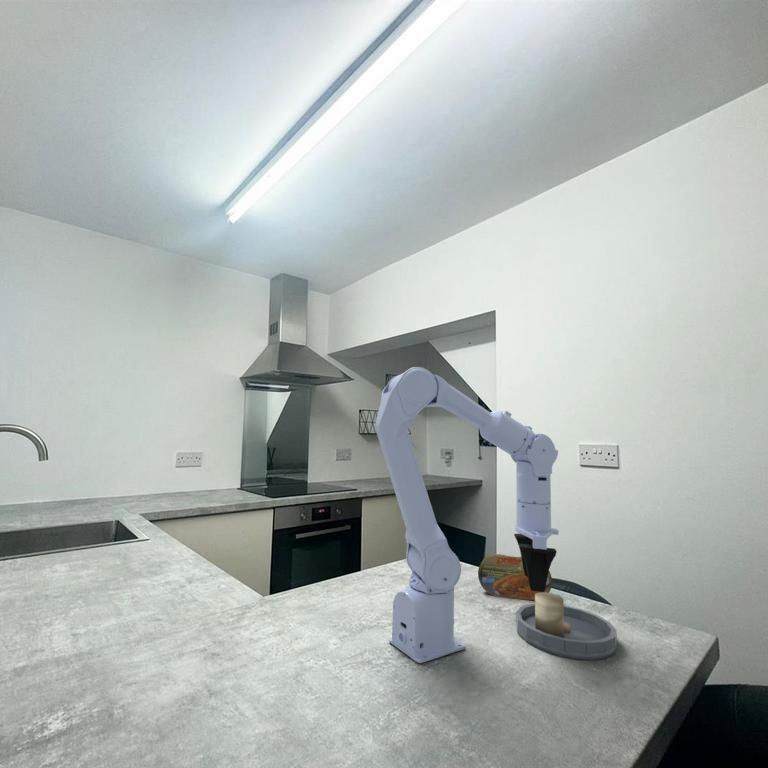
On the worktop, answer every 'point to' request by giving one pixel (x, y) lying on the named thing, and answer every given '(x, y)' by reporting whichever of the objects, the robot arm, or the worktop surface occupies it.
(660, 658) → the worktop surface
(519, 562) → the tin
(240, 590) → the worktop surface
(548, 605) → the beige cylinder
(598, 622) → the round tray
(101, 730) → the worktop surface
